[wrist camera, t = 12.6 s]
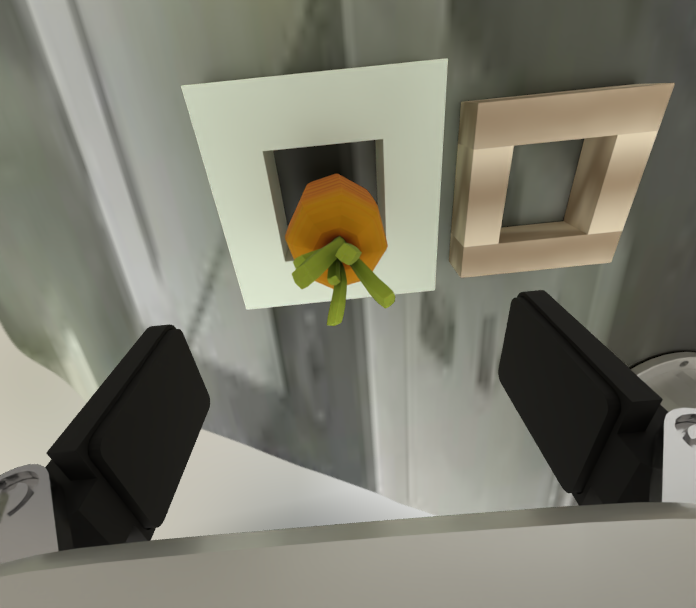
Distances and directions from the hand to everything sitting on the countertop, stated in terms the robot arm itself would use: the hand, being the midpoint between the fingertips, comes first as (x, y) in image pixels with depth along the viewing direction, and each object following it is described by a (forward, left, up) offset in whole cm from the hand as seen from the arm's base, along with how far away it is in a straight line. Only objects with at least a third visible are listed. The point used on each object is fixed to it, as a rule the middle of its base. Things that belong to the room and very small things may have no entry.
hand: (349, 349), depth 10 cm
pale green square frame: (0, 0, -18) cm, 18 cm away
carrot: (0, 0, -18) cm, 18 cm away
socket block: (-1, -15, -18) cm, 23 cm away
